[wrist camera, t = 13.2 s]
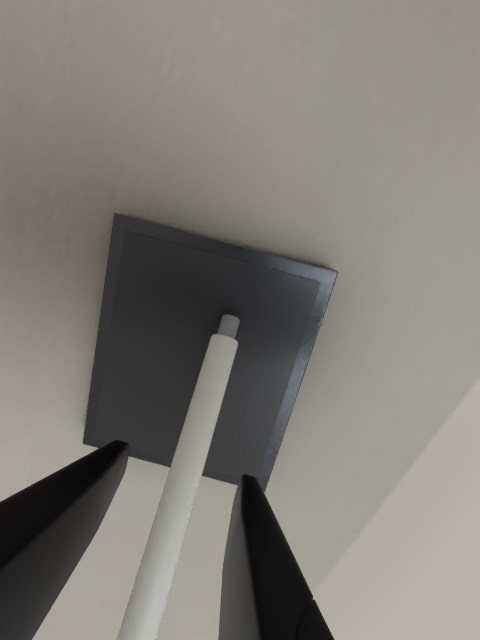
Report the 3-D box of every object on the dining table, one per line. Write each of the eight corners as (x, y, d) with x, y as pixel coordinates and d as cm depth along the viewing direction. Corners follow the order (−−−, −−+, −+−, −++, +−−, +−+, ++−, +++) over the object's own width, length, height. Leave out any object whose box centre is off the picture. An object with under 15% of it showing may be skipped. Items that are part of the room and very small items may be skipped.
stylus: (246, 317, 14) (132, 729, 9) (242, 325, 15) (139, 696, 10) (219, 309, 14) (90, 719, 9) (217, 318, 15) (102, 687, 10)
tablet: (333, 269, 15) (339, 271, 14) (264, 479, 18) (264, 494, 17) (123, 214, 15) (112, 212, 14) (91, 432, 18) (81, 445, 17)
